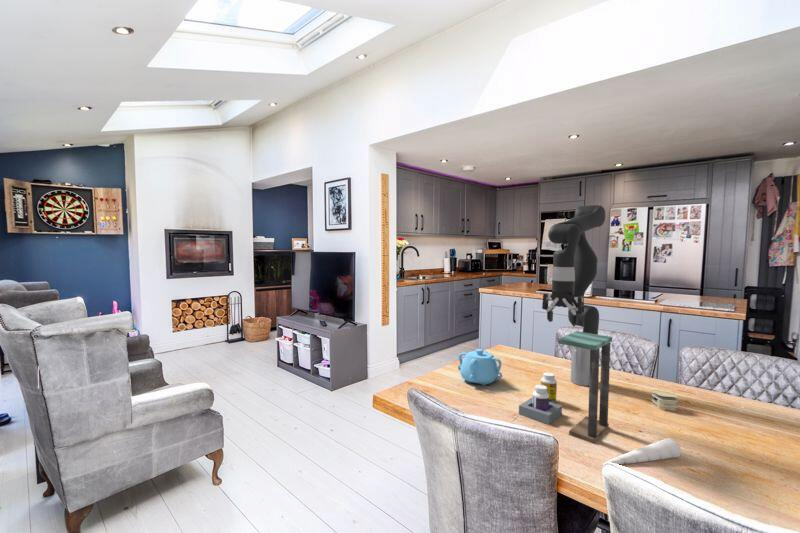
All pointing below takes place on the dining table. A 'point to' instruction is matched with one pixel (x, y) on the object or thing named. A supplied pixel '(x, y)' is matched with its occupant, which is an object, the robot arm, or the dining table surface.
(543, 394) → the pill bottle
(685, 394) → the dining table surface
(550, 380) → the supplement bottle
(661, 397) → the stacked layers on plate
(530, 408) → the socket
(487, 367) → the decorative pot
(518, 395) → the dining table surface
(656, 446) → the unicorn horn
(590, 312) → the robot arm
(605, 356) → the green-topped post stand
